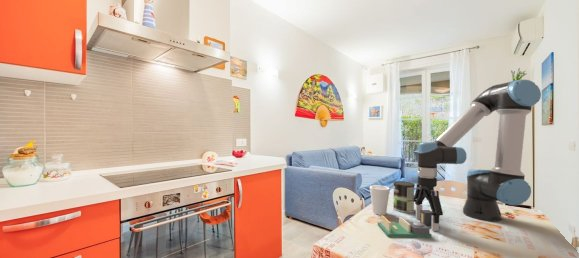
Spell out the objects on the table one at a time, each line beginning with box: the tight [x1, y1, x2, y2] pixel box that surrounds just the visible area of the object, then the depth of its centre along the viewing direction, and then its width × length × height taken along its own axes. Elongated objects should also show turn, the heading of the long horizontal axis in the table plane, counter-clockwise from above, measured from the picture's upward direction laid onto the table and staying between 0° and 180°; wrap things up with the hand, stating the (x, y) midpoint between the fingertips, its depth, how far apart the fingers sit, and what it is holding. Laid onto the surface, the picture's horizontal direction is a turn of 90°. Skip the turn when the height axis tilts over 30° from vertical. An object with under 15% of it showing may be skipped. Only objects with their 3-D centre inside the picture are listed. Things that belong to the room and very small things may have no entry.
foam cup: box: [369, 184, 391, 216], centre depth 126 cm, size 10×9×13 cm
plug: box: [419, 209, 432, 228], centre depth 110 cm, size 4×4×6 cm
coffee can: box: [392, 180, 416, 214], centre depth 131 cm, size 10×10×14 cm
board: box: [377, 215, 432, 238], centre depth 103 cm, size 17×12×5 cm
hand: (426, 224), depth 110 cm, fingers open, 13 cm apart
